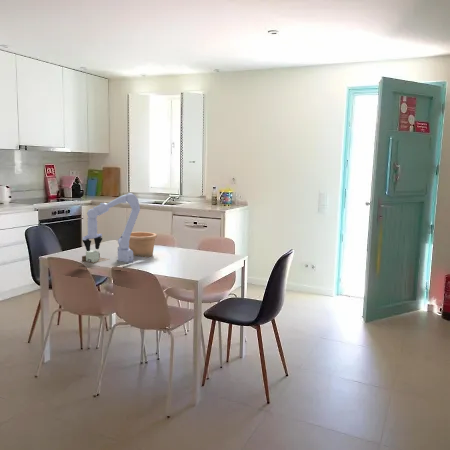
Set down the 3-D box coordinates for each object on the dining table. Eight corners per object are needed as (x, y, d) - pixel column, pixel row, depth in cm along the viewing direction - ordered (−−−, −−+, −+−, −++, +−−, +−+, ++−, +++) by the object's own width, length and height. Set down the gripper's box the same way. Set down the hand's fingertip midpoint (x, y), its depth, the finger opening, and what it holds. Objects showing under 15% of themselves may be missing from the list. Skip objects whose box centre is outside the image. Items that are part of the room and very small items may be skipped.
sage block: (99, 260, 283) (98, 251, 282) (93, 262, 278) (93, 252, 277) (91, 259, 285) (91, 250, 285) (86, 261, 281) (85, 251, 280)
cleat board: (110, 261, 288) (110, 254, 288) (94, 265, 276) (93, 258, 276) (98, 259, 293) (98, 252, 292) (82, 263, 281) (81, 256, 280)
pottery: (133, 260, 295) (134, 238, 293) (118, 253, 312) (118, 233, 310) (162, 256, 309) (162, 235, 306) (146, 250, 325) (146, 230, 323)
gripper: (96, 226, 287) (96, 247, 289) (78, 229, 274) (79, 251, 276) (104, 227, 284) (104, 248, 286) (87, 230, 271) (87, 252, 273)
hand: (92, 250), depth 281 cm, fingers open, 7 cm apart
